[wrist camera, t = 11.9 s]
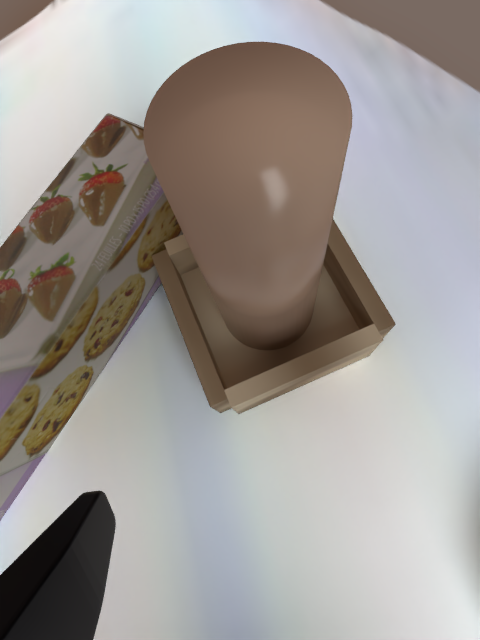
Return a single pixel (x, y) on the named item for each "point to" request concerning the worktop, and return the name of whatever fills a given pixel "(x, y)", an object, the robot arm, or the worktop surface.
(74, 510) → the robot arm
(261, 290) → the brown dome-top cylinder
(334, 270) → the tray
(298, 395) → the worktop surface
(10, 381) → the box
